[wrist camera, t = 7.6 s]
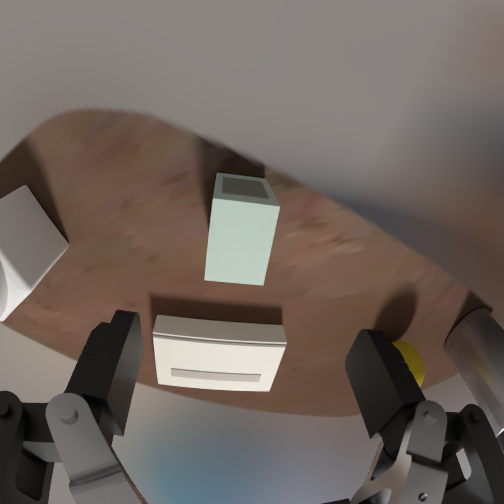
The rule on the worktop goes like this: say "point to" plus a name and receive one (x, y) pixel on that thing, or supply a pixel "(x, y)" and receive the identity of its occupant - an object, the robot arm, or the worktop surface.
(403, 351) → the lemon
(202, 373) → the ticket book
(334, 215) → the worktop surface
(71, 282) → the worktop surface
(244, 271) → the pale green block
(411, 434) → the robot arm
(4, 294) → the medicine bottle
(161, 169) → the worktop surface
